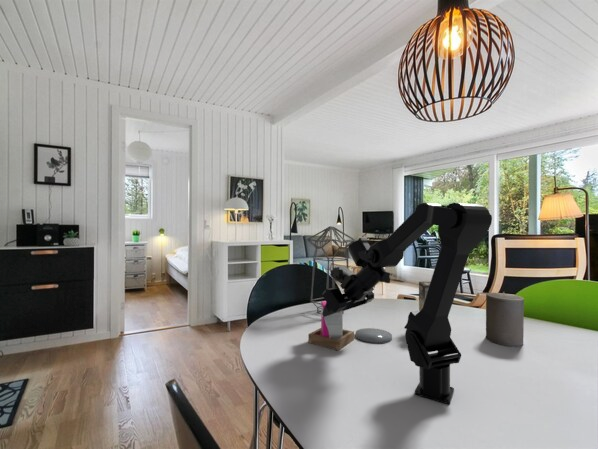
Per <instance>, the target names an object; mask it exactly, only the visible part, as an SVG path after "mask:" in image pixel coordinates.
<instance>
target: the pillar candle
mask: <svg viewBox="0 0 598 449" xmlns="http://www.w3.org/2000/svg"><path fill="white" fill-rule="evenodd" d="M485 295H486V296H485V339H486V340H487V341H489V342H491V343H493V344H497V345H500V346H505V347H514V348H515V347H522V346H523V345H524V330H525V329H524V328H525V326H524V323H525V322H524V318H525V317H524V312H525V311H524V308H525V304H524V303H525V302H524V300H525V298H524V297H522V296H519V295H518V294H517V295H516V294H515V295H514V294H510V293H505V291H503V292H502V293H501V292H487V293H486V294H485Z"/></svg>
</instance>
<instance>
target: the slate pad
mask: <svg viewBox="0 0 598 449" xmlns="http://www.w3.org/2000/svg"><path fill="white" fill-rule="evenodd" d="M355 337H356V338H357V339H358V340H359V341H362V342H365V343H370V344H386V343H387V344H388V343H389V342H391V341H392V340H393V334H392V333H391V332H390V331H387V330H385V329H380V328H373V327H371V328H369V327H368V328H359V329H357V330H356V331H355Z"/></svg>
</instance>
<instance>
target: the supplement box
mask: <svg viewBox="0 0 598 449" xmlns="http://www.w3.org/2000/svg"><path fill="white" fill-rule="evenodd" d="M320 303H321V305H320V306H321V307H320V308H321V309H320V311H321V312H320V313H321V314H320V315H321V316H320V317H321V320H320V321H321V324H320V326H321V327H320V328H321V336H325V337H329V338H334V339H339V338H341V337H342V336H343V314H342V311H340V312H337V313H334V314H331V315H328V316H325V317H324V316H323V315H322V313H323V310H324V308H325V305H326V300H324V301H323V300H321V302H320Z"/></svg>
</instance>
